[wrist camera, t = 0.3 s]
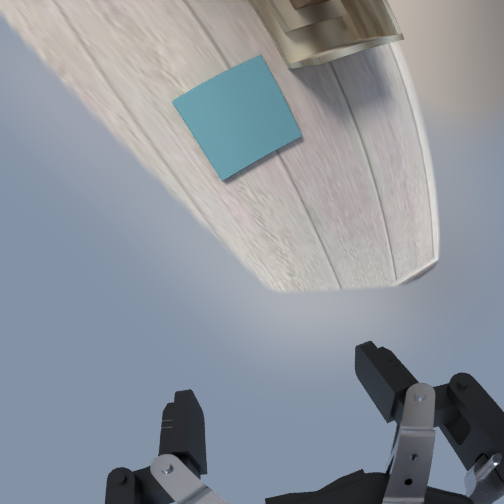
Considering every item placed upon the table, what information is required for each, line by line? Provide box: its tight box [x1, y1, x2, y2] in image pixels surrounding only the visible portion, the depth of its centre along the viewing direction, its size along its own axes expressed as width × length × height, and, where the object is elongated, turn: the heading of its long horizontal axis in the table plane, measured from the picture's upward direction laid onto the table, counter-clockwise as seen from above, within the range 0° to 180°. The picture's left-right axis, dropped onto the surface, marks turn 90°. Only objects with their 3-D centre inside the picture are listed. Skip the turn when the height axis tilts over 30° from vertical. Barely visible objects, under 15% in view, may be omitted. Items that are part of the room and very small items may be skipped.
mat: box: [172, 55, 302, 181], centre depth 31 cm, size 12×12×1 cm
